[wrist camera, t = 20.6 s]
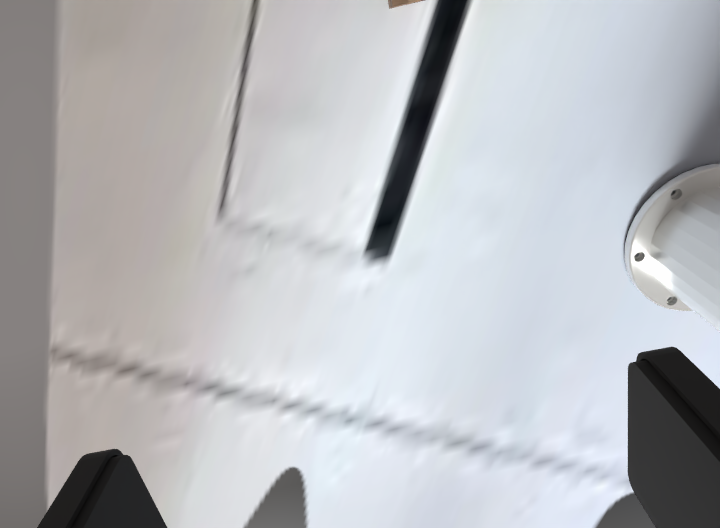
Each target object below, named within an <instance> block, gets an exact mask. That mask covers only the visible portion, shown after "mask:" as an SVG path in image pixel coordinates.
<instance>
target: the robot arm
mask: <svg viewBox="0 0 720 528" xmlns="http://www.w3.org/2000/svg"><path fill="white" fill-rule="evenodd" d="M624 258H625V264H626V270H627V272H628V275H629V277H630V279H631V281H632V283H633V284H634V285H635V287H636V288H637V289H638V290H639V291H640V292H641V293H642V294H643V295H644V296H645V297H646V298H647V299H649V300H651V301H652V302H654V303H655V304H657V305H659V306H662V307H664V308H667V309H672V310H678V311H694V312H695V313H697V314H698V315H699V316H700V317H702V318H703V319H704V320H705V321H706V322H708V323H709V324H710V325H711V326H713V327H714V328H715V329H716V330H718V331H719V332H720V164H711V165H706V166H701V167H697V168H695V169H692V170H689V171H687V172H684V173H682V174H680V175H679V176H677V177H675V178H673V179H672V180H670V181H668V182H667V183H666V184H664V185H663V186H662V187H661V188H659V189H658V190H657V191H656V192H655V193H654V194H653V195H652V196H651V197H650V198H649V199H648V200H647V201H646V202H645V203H644V204H643V206H642V207H641V209H640V210H639V212H638V213H637V215H636V216H635V218H634V220H633V222H632V224H631V227H630V229H629V231H628V235H627V239H626V243H625V256H624ZM628 476H629V481H630V484H631V486H632V489H633V491H634V493H635V495H636V496H637V498H638V499H639V501H640V503H641V504H642V506H643V508H644V509H645V511H646V512H647V514H648V516H649V517H650V519H651V521H652V522H653V524H654V525H655V527H656V528H720V389H719V388H718V387H717V386H716V385H715V384H714V383H713V382H712V381H711V380H710V379H709V378H708V377H707V376H706V375H705V374H704V373H703V372H702V371H700V370H699V369H698V368H697V367H696V366H695V365H694V364H693V363H692V362H691V361H690V360H689V359H688V358H687V357H686V356H685V355H684V354H683V353H682V352H681V351H680V350H678V349H677V348H675V347H668V348H663V349H657V350H652V351H646V352H641V353H639V354H638V356H637V360H636V362H633V363H630V364H629V366H628ZM37 528H167V526H166V524H165V522H164V521H163V519H162V517H161V515H160V513H159V511H158V509H157V507H156V505H155V503H154V501H153V499H152V497H151V495H150V493H149V491H148V489H147V488H146V486H145V484H144V482H143V480H142V478H141V476H140V474H139V472H138V470H137V468H136V466H135V464H134V462H133V460H132V459H131V457H130V456H128V455H123V454H122V452H121V451H119V450H118V449H111V450H106V451H100V452H95V453H89V454H86V455H84V456H82V458H81V459H80V460H79V461H78V463H77V465H76V466H75V468H74V469H73V471H72V473H71V474H70V476H69V477H68V479H67V481H66V482H65V484H64V485H63V487H62V489H61V490H60V492H59V494H58V495H57V497H56V498H55V500H54V502H53V503H52V505H51V506H50V508H49V510H48V511H47V513H46V515H45V516H44V518H43V519H42V521H41V522H40V524H39V526H38V527H37Z"/></svg>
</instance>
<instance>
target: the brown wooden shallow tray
mask: <svg viewBox="0 0 720 528" xmlns="http://www.w3.org/2000/svg"><path fill="white" fill-rule="evenodd" d="M420 1H424V0H388V3H389V8H394V7H398V6H402V5H407V4H411V3H415V2H420Z"/></svg>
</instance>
